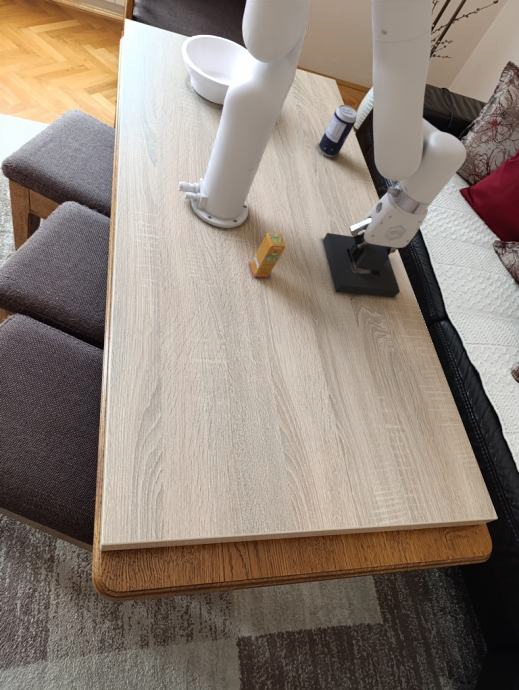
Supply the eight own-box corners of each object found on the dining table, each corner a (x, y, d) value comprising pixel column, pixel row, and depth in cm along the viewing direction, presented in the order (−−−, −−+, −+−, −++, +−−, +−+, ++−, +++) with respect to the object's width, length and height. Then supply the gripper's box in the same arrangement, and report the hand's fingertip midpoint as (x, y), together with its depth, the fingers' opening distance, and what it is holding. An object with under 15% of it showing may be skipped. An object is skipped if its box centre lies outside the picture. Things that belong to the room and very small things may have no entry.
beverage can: (337, 161, 132) (359, 121, 122) (318, 154, 131) (338, 114, 121) (336, 147, 135) (357, 108, 125) (317, 141, 134) (336, 100, 124)
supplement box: (254, 278, 101) (270, 245, 93) (250, 265, 103) (265, 231, 95) (269, 278, 102) (286, 245, 94) (264, 265, 104) (281, 231, 96)
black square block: (355, 268, 107) (365, 254, 104) (349, 247, 110) (359, 233, 107) (378, 271, 109) (389, 257, 106) (372, 250, 112) (382, 237, 109)
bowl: (210, 123, 123) (218, 93, 116) (159, 71, 128) (164, 38, 121) (269, 108, 135) (280, 80, 128) (221, 60, 139) (229, 31, 133)
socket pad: (335, 292, 106) (340, 285, 104) (322, 240, 114) (327, 232, 112) (394, 298, 111) (400, 291, 109) (378, 248, 119) (383, 240, 117)
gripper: (376, 203, 90) (333, 267, 105) (454, 217, 96) (402, 275, 111) (367, 175, 94) (326, 240, 109) (442, 189, 100) (393, 249, 114)
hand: (365, 257), depth 109 cm, fingers closed on black square block, 5 cm apart
